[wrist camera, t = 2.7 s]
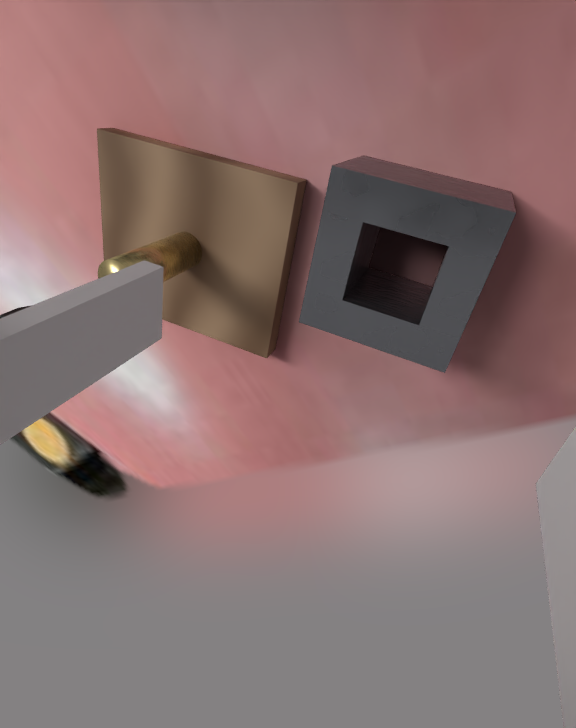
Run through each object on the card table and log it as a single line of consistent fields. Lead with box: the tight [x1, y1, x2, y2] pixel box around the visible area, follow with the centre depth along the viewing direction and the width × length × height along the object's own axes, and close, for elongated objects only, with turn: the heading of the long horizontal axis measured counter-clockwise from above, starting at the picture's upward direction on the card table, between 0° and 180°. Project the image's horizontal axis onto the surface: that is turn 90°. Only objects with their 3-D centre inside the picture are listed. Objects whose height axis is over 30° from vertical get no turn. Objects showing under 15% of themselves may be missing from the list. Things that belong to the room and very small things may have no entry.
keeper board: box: [97, 128, 307, 358], centre depth 31 cm, size 14×12×2 cm
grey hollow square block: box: [299, 155, 516, 373], centre depth 24 cm, size 8×8×6 cm
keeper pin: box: [98, 232, 202, 282], centre depth 27 cm, size 2×2×7 cm
